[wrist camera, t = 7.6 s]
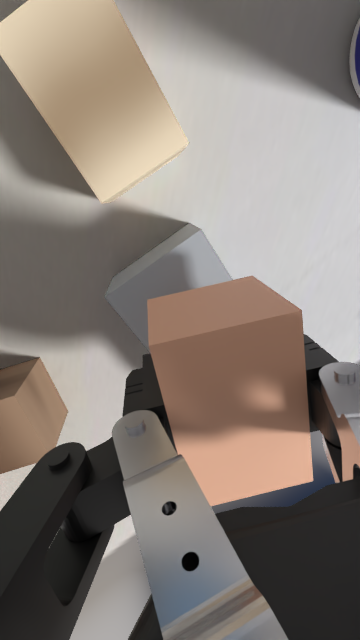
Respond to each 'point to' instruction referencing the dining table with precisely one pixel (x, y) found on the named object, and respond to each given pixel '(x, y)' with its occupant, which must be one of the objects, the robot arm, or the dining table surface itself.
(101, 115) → the beech block
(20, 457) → the walnut block
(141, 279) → the grey block
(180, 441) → the terracotta block
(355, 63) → the energy drink
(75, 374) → the dining table surface
